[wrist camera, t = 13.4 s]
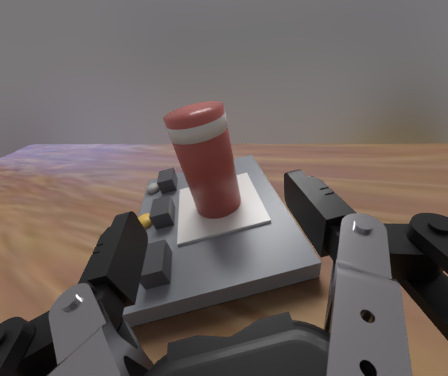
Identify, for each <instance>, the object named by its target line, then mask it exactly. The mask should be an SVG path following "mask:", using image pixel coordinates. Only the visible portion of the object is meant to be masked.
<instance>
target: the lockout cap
mask: <svg viewBox="0 0 448 376" xmlns="http://www.w3.org/2000/svg"><path fill="white" fill-rule="evenodd" d="M164 122H165V125H166V129H167V131H168V134H169V137H170V140H171V142H172V143H173V146H174V149H175V152H176V154H177V157H178V160H179V162H180V165H181V168H182V170H183V173H184V176H185V179H186V181H187V184H188V187H189V189H190V192H191V195H192V197H193V200H194V203H195V206H196V208H197V211H198V213H199V214H200V215H201V216H203V217H205V218H209V219H218V218H223V217H226V216H228V215H230V214H232V213H233V212H234V211H236V210H237V209H238V207H239V206H240V203H241V196H240V191H239V186H238V180H237V175H236V170H235V165H234V159H233V154H232V149H231V143H230V138H229V133H228V125H227V119H226V114H225V110H224V106H223V103H222V102H218V101H209V102H201V103H196V104H192V105H188V106H185V107H182V108H179V109H176V110H174V111H172V112H170V113H168V114H167V115H166V116H165V117H164Z"/></svg>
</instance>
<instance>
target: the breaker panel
mask: <svg viewBox="0 0 448 376" xmlns="http://www.w3.org/2000/svg"><path fill="white" fill-rule="evenodd" d="M234 165H235V170H236V175H237V180H238V186H239V191H240V196H241V203H240V206H239V207H238V209H237V210H236V211H234V212H233V213H232V214H230V215H228V216H226V217H223V218H218V219H209V218H205V217H203V216H201V215H200V214H199V213H198V211H197V208H196V206H195V203H194V200H193V197H192V195H191V192H190V189H189V187H188V184H187V181H186V179H185V176H184V173H183V172H182V173H178V174H176V173H175V171H174V168H171V169H167V170H163V171H159V176H158V179H154V180H150V181H149V182H148V186H147V187H146V192H145V196H144V199H143V203H142V206H141V209H140V213H139V216H138V219H139V221H140V222H141V224H142V225H143V227H144V229H145V230H146V232H147V235H148V245H147V250H146V255H145V259H144V264H143V269H142V274H141V279H140V283H139V288H138V293H137V298H136V303H135V305H132V306H128V307H125V308H124V312H123V316H124V317H125V318H126V320H127V322H128V323H129V325H130V327H133V326H137V325H141V324H145V323H148V322H152V321H156V320H160V319H163V318H167V317H171V316H175V315H178V314H182V313H186V312H190V311H193V310H197V309H201V308H205V307H209V306H212V305H216V304H220V303H224V302H227V301H231V300H235V299H239V298H242V297H246V296H250V295H254V294H257V293H261V292H265V291H269V290H273V289H276V288H280V287H284V286H288V285H291V284H295V283H299V282H303V281H306V280H310V279H314V278H318V277H319V275H320V268H321V261H320V260H319V258H318V256H317V255H316V253H315V252H314V250H313V249H312V247H311V246H310V244H309V243H308V241H307V240H306V238H305V236H304V235H303V233H302V232H301V230H300V229H299V227H298V226H297V224H296V223H295V221H294V219H293V218H292V216H291V215H290V213H289V212H288V210H287V209H286V207H285V206H284V204H283V202H282V201H281V199H280V198H279V196H278V195H277V193H276V192H275V190H274V189H273V187H272V185H271V184H270V182H269V181H268V179H267V178H266V176H265V175H264V173H263V172H262V170H261V169H260V167H259V165H258V164H257V162H256V161H255V159H254V158H253V156H252V155H249V156H245V157H241V158H237V159H234Z"/></svg>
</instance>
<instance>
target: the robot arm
mask: <svg viewBox="0 0 448 376" xmlns="http://www.w3.org/2000/svg"><path fill="white" fill-rule="evenodd" d="M284 194H285V201H286V204H287V206H288V208H289V210H290V211H291V213H292V214H293V216H294V217H295V219H296V220H297V222H298V223H299V225H300V226H301V228H302V229H303V231H304V233H305V234H306V236H307V237H308V239H309V240H310V242H311V243H312V245H313V246H314V248H315V249H316V251H317V252H318V254H319V255H320V257H324V256H328V255H330V257H331V258H332V260H333V264H332V272H331V280H330V288H329V296H328V304H327V310H326V316H325V323H324V330H323V329H321V328H319V327H317V326H315V325H312V324H309V323H306V322H302V321H295V320H292V319H291V317H290V314H289V312H285V313H282V314H278V315H274V316H270V317H266V318H262V319H259V320H257V321H256V322H254V323H252V324H251V325H249V326H248V327H246V328H244V329H243V330H241V331H239V332H238V333H236V334H235V335H233V336H231V337H216V336H194V337H190V338H186V339H182V340H179V341H175V342H171V343H168V351H167V354H166V355H165V356H164V357H162V358H161V359H160V360H158V361H157V362H156V363H155V364H153V362H152V361H151V360H150V359H149V358H148V356H147V355H146V354H145V352H144V351H143V349H142V347H141V346H140V344H139V342H138V340H137V338H136V336H135V334H134V333H133V331H132V329H131V327H130V325H129V323H128V322H127V320H126V318H125V317H124V316H123V312H124V308H125V307H128V306H132V305H135V303H136V298H137V293H138V288H139V283H140V279H141V274H142V269H143V264H144V259H145V255H146V250H147V245H148V235H147V232H146V230H145V229H144V227H143V225H142V224H141V222H140V221H139V219H138V217H137V216H136V214H135V213H134V212H132V211H131V212H127V213H123V214H119V215H116V216H115V218H114V220H113V223H112V225H111V227H108V228H107V229H106V231H105V232H104V233H103V234H102V235H101V236H100V238H99V240H98V243H97V245H96V246H97V247H95V249H94V251H93V255H91V257H90V259H89V261H88V264H87V266H86V268H85V270H84V272H83V274H82V276H81V278H80V280H79V282H78V284H77V285H74V286H72V287H71V288H69V289H67V290H66V291H65V292H64V293H62V294H61V295H60V296H59V297H58V299H57V300H56V301H55V302H54V304H53V305H52V307H51V309H50V311H48V312H46V313H44V314H42V315H40V316H38V317H37V318H35V319H33V320H31V321H29V322H28V321H26V320H24V319H23V318H21V317H13V318H10V319H8V320H6V321H4V322H2V323H1V324H0V376H412V370H411V362H410V355H409V347H408V339H407V332H406V324H405V317H404V309H403V301H402V294H401V288H400V285H401V286H402V287H403V288H404V289H405V291H406V292H407V293H408V294H409V295H410V297H411V298H412V299H413V300H414V301H415V302H416V304H417V305H418V306H419V307H420V308H421V309H422V311H423V312H424V313H425V314H426V315H427V317H428V318H429V319H430V320H431V321H432V322H433V324H434V325H435V326H436V327H437V328H438V330H439V331H440V332H441V333H442V334H443V335H444V337H445V338H446V339H447V340H448V277H447V276H446V275H445V274H444V273H443V271H445V272H446V273H447V274H448V217H446V216H442V215H439V214H433V213H420V214H416V215H414V216H413V217H412V219H411V221H410V223H409V224H383V223H382V222H381V221H379V220H378V219H376V218H374V217H372V216H369V215H366V214H360V213H356V212H355V211H354V210H353V209H352V208H351V207H350V206H349V205H347V204H346V203H345V202H344V201H343V200H342V199H341V198H340V197H339V196H338V195H337V194H336V193H334V191H333V190H332V189H330V188H329V187H328V186H327V185H326V184H325V183H324V182H323V181H322V180H320V179H318V178H315V177H313V176H311V177H307V176H306V175H305V174H304V173H303V171H302V170H300V169H299V170H295V171H291V172H287V173H285V174H284ZM393 279H394V280H393ZM396 280H397V281H396ZM398 282H399V283H398ZM399 284H400V285H399Z"/></svg>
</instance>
